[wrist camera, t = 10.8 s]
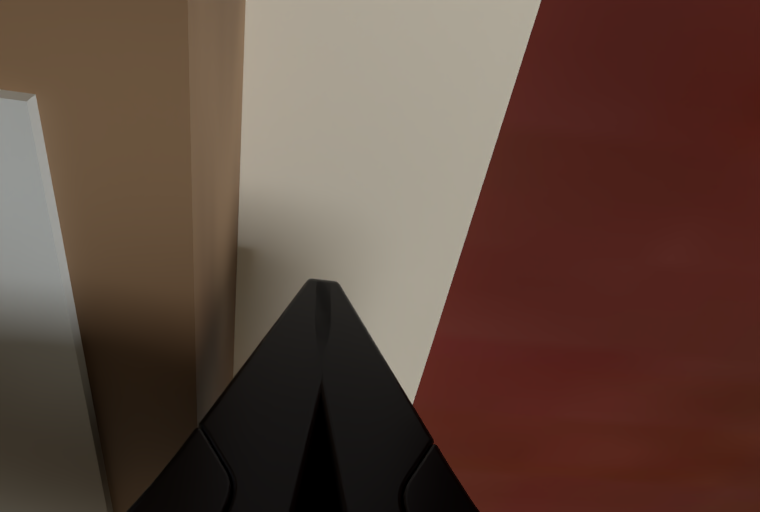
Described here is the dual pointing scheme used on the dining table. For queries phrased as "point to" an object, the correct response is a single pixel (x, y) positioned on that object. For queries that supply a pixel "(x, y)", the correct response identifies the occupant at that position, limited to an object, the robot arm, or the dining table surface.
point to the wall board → (368, 156)
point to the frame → (114, 240)
